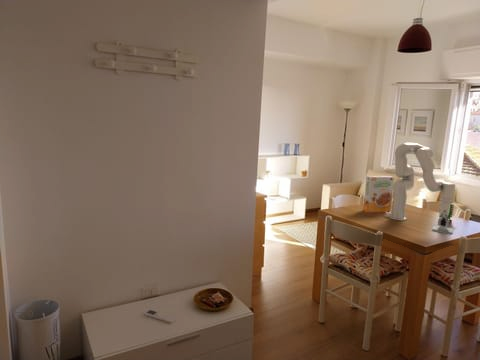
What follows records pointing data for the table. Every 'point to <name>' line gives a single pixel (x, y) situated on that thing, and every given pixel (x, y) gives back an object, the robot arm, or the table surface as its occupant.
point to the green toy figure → (449, 213)
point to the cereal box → (378, 193)
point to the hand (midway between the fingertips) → (443, 224)
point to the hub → (446, 222)
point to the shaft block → (442, 229)
